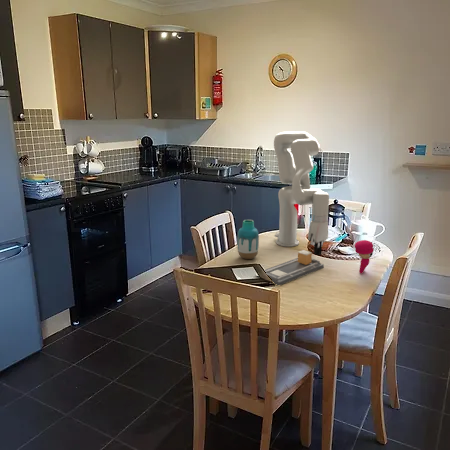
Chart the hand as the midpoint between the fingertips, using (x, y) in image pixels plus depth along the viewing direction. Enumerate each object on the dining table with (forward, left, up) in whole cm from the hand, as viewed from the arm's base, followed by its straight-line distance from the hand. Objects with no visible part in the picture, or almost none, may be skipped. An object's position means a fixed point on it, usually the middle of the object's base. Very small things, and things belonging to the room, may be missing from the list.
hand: (317, 254), depth 208 cm
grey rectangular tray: (0, -20, -4) cm, 20 cm away
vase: (-26, -22, -4) cm, 34 cm away
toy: (+22, +4, -4) cm, 23 cm away
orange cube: (0, -10, -2) cm, 10 cm away
